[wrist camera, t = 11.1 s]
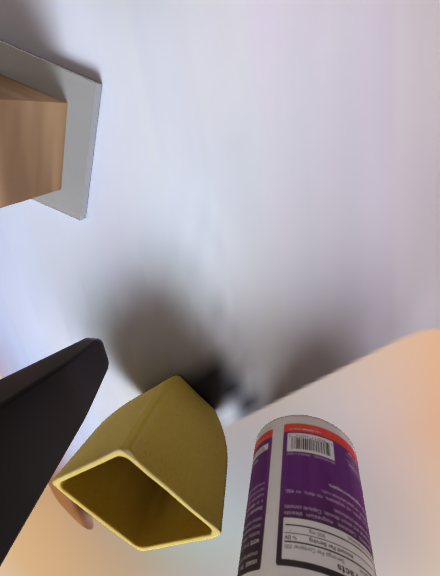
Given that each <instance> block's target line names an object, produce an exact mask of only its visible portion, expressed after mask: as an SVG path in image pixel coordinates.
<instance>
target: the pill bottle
mask: <svg viewBox="0 0 440 576" xmlns="http://www.w3.org/2000/svg"><path fill="white" fill-rule="evenodd" d="M237 576H376V571H375V566H374V559H373V554H372V548H371V541H370V535H369V529H368V523H367V518H366V511H365V505H364V499H363V493H362V487H361V481H360V475H359V469H358V462H357V457H356V452H355V449H354V447H353V445H352V443H351V441H350V440H349V438H348V437H347V436H346V435H345V434H344V433H343V432H342V431H341V430H340V429H338V428H337V427H335V426H334V425H332V424H330V423H328V422H326V421H324V420H322V419H319V418H315V417H311V416H307V415H292V416H285V417H281V418H278V419H275V420H273V421H272V422H270V423H268V424H267V425H266V426H265V427H263V429H262V430H261V431H260V433H259V434H258V436H257V439H256V444H255V450H254V458H253V465H252V473H251V480H250V488H249V494H248V502H247V509H246V517H245V525H244V532H243V539H242V546H241V553H240V561H239V568H238V575H237Z"/></svg>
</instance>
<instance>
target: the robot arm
mask: <svg viewBox="0 0 440 576" xmlns="http://www.w3.org/2000/svg"><path fill="white" fill-rule="evenodd" d="M108 365H109V361H108V358H107V354H106V351H105V348H104V345H103V342H102V341H101V340H100V339H96V338H85V339H83V340H81V341H79V342H77V343H75V344H73V345H71V346H69V347H67V348H64V349H62V350H60V351H58V352H56V353H54V354H52V355H50V356H48V357H46V358H44V359H42V360H40V361H38V362H36V363H34V364H32V365H29V366H27V367H25V368H23V369H21V370H19V371H17V372H15V373H13V374H11V375H9V376H7V377H5V378H3V379H1V380H0V566H1V564H2V562H3V561H4V559H5V557H6V555H7V554H8V552H9V550H10V548H11V547H12V545H13V543H14V541H15V540H16V538H17V536H18V534H19V533H20V531H21V529H22V527H23V526H24V524H25V522H26V520H27V519H28V517H29V515H30V513H31V512H32V510H33V508H34V507H35V505H36V503H37V501H38V500H39V498H40V496H41V494H42V493H43V491H44V489H45V487H46V486H47V484H48V482H49V480H50V479H51V477H52V475H53V473H54V472H55V470H56V468H57V466H58V465H59V463H60V461H61V460H62V458H63V456H64V454H65V453H66V451H67V449H68V447H69V446H70V444H71V442H72V440H73V439H74V437H75V435H76V433H77V432H78V430H79V428H80V426H81V425H82V423H83V421H84V419H85V417H86V415H87V413H88V411H89V409H90V407H91V405H92V403H93V400H94V398H95V396H96V394H97V392H98V389H99V387H100V385H101V383H102V380H103V378H104V376H105V374H106V372H107V369H108Z"/></svg>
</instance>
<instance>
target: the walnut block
mask: <svg viewBox="0 0 440 576" xmlns="http://www.w3.org/2000/svg"><path fill="white" fill-rule="evenodd" d="M67 105H68V103H66V102H64V101H62V100H59V99H57V98H55V97H52V96H50V95H48V94H46V93H43V92H41V91H39V90H36V89H34V88H32V87H29V86H27V85H25V84H22V83H20V82H18V81H16V80H13V79H11V78H9V77H6V76H4V75H2V74H0V208H2V207H5V206H8V205H12V204H15V203H18V202H22V201H25V200H28V199H31V198H35V197H38V196H41V195H44V194H48V193H51V192H54V191H58V190H61V185H62V172H63V159H64V145H65V132H66V119H67Z"/></svg>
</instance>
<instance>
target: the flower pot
mask: <svg viewBox="0 0 440 576" xmlns="http://www.w3.org/2000/svg"><path fill="white" fill-rule="evenodd" d="M226 474H227V446H226V441H225V436H224V432H223V429H222V426H221V423H220V421H219V418H218V416H217V414H216V412H215V410H214V409H213V408H212V407H211V406H210V405H209V404H208V403H207V402H206V401H205V400H204V399H203V398H202V397H201V396H200V395H199V394H197V393H196V392H195V391H194V390H193V389H192V388H191V387H190V386H189V385H188V384H187V383H186V381H185V380H184V379H182V378H181V377H180V376H177V375H176V376H172V377H170V378H169V379H167V380H165V381H164V382H162V383H160V384H158V385H157V386H155V387H153V388H152V389H150V390H148V391H146V392H145V393H143V394H141V395H139V396H138V397H136V398H134V399H132V400H131V401H129V402H128V403H126V404H125V405H123V406H122V407H120V408H119V409H118V410H116V411H115V412H114V413H113V414H111V415H110V416H109V417H108V418H107V419H106V420H105V421H103V422H102V423H101V424H100V426H99V427H98V428H97V429H96V430H95V431H94V432H93V433H92V435H91V436H90V437H89V438H88V439H87V440H86V442H85V443H84V444H83V445H82V446H81V447H80V449H79V450H78V451H77V452H76V453H75V455H74V456H73V457H72V458H71V459H70V460H69V462H68V463H67V464H66V465H65V466H64V468H63V469H62V470H61V471H60V472H59V474H58V475H57V476H56V477H55V478H54V480H53V481H52V483H53V484H54V485H55V486H56V487H57V488H58V489H59V490H60V491H61V492H63V493H64V494H65V495H66V496H67V497H69V498H70V499H71V500H72V501H73V502H75V503H76V504H77V505H79V506H80V507H81V508H83V509H84V510H85V511H86V512H88V513H89V514H90V515H92V516H93V517H94V518H96V519H97V520H98V521H100V522H101V523H102V524H104V525H105V526H106V527H108V528H109V529H111V530H112V531H113V532H114V533H116V534H117V535H119V536H120V537H121V538H122V539H124V540H125V541H126V542H128V543H129V544H130V545H132V546H134V547H135V548H136V549H138V550H140V551H145V550H153V549H157V548H161V547H167V546H171V545H176V544H182V543H187V542H193V541H199V540H204V539H211V538H214V537H216V536H218V535H220V534H221V529H222V517H223V507H224V496H225V487H226Z"/></svg>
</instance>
